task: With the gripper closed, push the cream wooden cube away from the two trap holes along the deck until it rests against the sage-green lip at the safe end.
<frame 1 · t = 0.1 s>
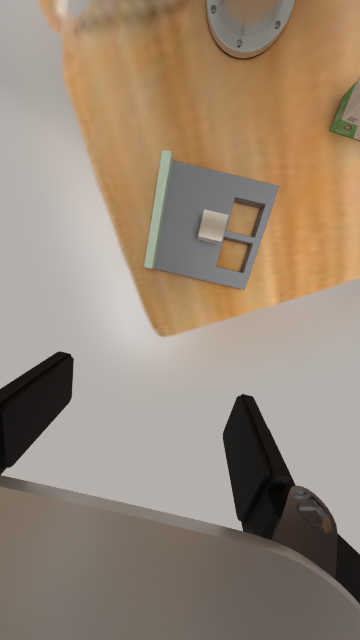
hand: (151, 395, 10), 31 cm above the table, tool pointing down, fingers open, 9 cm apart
ink box: (358, 123, 30), on the table
trap deck: (206, 232, 36), on the table
cream block: (210, 230, 33), point 2 cm above the table, touching trap deck
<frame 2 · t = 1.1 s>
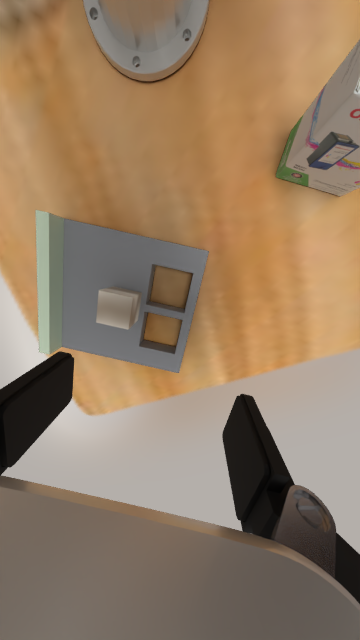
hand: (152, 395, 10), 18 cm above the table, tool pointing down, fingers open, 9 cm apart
ink box: (314, 166, 22), on the table
trap deck: (128, 299, 27), on the table
cream block: (125, 303, 25), point 2 cm above the table, touching trap deck
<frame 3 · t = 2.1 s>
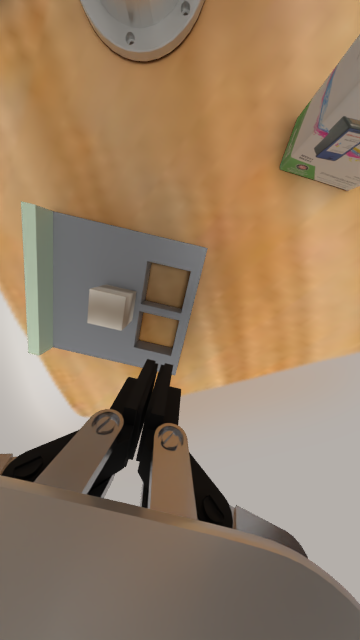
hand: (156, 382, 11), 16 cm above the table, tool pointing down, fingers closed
ink box: (320, 158, 20), on the table
trap deck: (122, 298, 26), on the table
cream block: (119, 302, 24), point 2 cm above the table, touching trap deck
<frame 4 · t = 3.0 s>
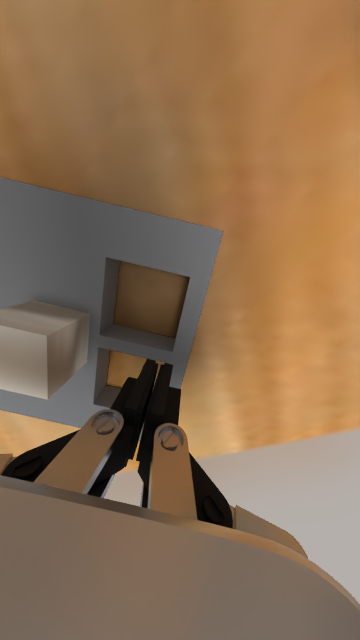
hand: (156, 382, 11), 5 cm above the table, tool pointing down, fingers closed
trap deck: (76, 320, 16), on the table
cream block: (62, 332, 13), point 2 cm above the table, touching trap deck
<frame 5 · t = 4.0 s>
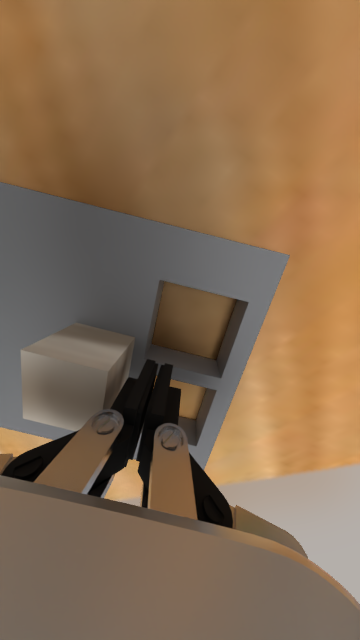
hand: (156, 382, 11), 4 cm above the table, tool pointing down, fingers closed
trap deck: (111, 340, 15), on the table
cream block: (102, 356, 12), point 3 cm above the table, touching gripper
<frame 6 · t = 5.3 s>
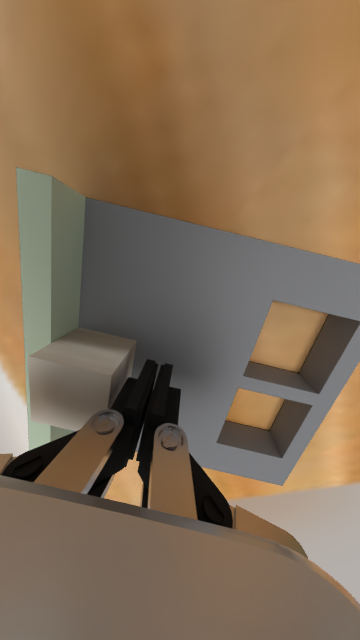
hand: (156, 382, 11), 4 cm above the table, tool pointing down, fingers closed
trap deck: (195, 354, 15), on the table
cream block: (105, 359, 13), point 2 cm above the table, touching gripper, trap deck
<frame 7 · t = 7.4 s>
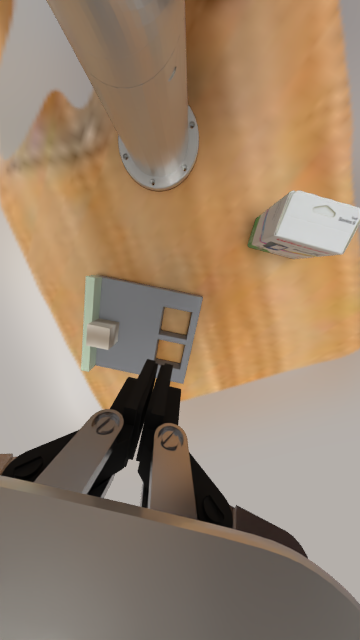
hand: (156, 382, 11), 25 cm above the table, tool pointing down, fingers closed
ink box: (273, 239, 31), on the table
trap deck: (144, 329, 37), on the table
cream block: (108, 330, 35), point 2 cm above the table, touching trap deck
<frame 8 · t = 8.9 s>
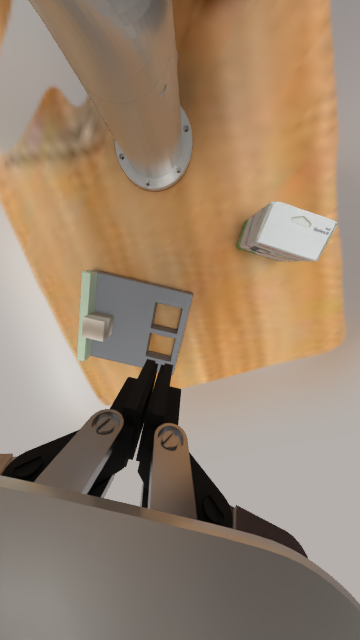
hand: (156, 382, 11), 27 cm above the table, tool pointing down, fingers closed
ink box: (261, 242, 33), on the table
trap deck: (138, 322, 39), on the table
cream block: (103, 322, 37), point 2 cm above the table, touching trap deck
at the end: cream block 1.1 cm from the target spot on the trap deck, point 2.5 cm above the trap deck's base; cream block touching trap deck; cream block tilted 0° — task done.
